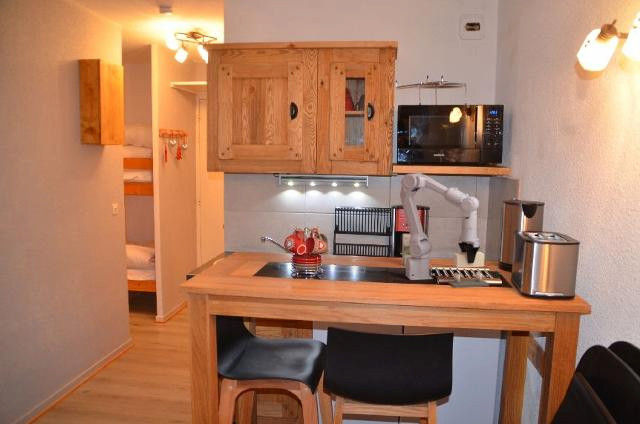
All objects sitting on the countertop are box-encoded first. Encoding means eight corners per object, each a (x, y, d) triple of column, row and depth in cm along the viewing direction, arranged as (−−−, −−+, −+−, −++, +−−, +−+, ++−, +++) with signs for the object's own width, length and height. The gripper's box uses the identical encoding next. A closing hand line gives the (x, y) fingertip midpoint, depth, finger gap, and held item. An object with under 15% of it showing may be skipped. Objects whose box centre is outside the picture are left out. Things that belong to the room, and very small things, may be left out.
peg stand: (454, 287, 192) (454, 276, 192) (447, 283, 199) (448, 272, 199) (488, 286, 194) (489, 274, 193) (481, 281, 201) (481, 270, 200)
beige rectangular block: (479, 264, 198) (479, 251, 197) (483, 266, 194) (484, 253, 194) (453, 265, 197) (453, 252, 196) (456, 267, 193) (457, 255, 192)
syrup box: (414, 263, 235) (414, 233, 233) (415, 266, 229) (415, 235, 228) (402, 263, 236) (402, 233, 234) (403, 265, 230) (403, 235, 228)
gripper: (487, 230, 187) (486, 265, 189) (471, 224, 201) (470, 257, 203) (469, 231, 186) (468, 266, 188) (454, 225, 201) (454, 258, 202)
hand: (468, 261), depth 195 cm, fingers closed on beige rectangular block, 4 cm apart
